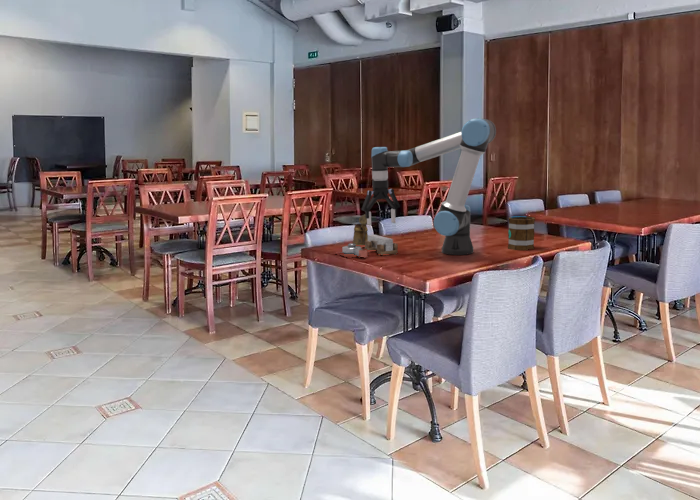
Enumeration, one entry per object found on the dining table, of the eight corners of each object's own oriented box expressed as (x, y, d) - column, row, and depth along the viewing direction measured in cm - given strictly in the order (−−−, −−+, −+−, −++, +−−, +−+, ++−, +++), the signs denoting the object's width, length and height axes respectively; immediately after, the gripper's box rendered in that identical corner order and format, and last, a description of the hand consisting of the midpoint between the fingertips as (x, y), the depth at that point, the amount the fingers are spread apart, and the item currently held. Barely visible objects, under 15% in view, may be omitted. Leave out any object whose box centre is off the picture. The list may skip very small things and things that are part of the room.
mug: (539, 249, 316) (540, 219, 313) (512, 251, 314) (513, 220, 311) (523, 243, 335) (524, 214, 332) (498, 244, 333) (499, 215, 330)
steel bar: (392, 250, 310) (392, 239, 309) (385, 251, 308) (385, 239, 307) (374, 245, 325) (374, 234, 324) (367, 246, 323) (367, 235, 322)
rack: (397, 254, 311) (397, 243, 311) (381, 256, 307) (381, 245, 306) (380, 249, 325) (380, 239, 324) (364, 251, 321) (364, 241, 320)
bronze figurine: (357, 249, 325) (357, 214, 322) (349, 245, 338) (349, 211, 335) (374, 248, 328) (374, 213, 325) (366, 244, 340) (365, 210, 337)
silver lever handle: (339, 252, 313) (339, 243, 312) (355, 251, 317) (355, 241, 316) (355, 258, 298) (355, 248, 298) (372, 256, 302) (372, 246, 302)
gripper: (398, 177, 319) (399, 220, 323) (353, 181, 308) (355, 225, 311) (406, 178, 313) (407, 222, 316) (361, 181, 301) (362, 227, 305)
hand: (381, 223), depth 314 cm, fingers open, 13 cm apart
